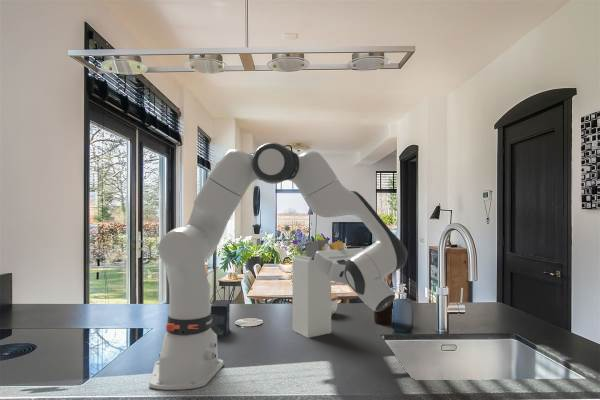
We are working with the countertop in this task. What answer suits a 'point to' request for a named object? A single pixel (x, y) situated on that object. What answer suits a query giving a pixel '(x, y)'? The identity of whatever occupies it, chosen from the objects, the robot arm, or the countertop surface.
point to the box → (220, 317)
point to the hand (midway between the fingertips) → (330, 245)
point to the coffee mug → (384, 316)
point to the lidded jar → (334, 303)
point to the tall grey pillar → (310, 298)
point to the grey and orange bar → (321, 247)
